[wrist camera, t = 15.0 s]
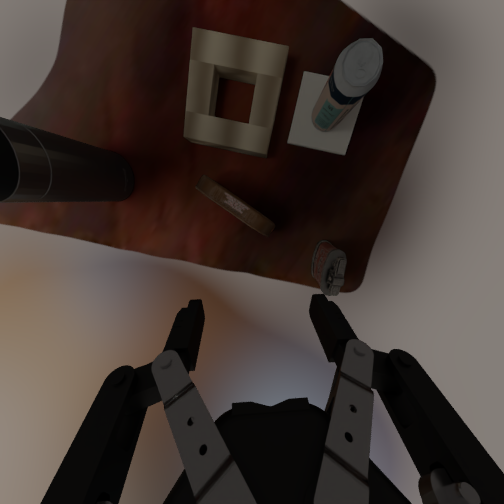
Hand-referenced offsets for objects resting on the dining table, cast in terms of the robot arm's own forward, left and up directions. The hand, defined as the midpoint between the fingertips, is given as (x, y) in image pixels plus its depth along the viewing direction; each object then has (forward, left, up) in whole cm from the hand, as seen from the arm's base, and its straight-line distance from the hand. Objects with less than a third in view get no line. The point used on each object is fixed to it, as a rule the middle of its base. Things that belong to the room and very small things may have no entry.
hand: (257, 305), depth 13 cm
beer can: (+5, +22, -24) cm, 33 cm away
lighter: (+12, -2, -25) cm, 27 cm away
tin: (-6, +5, -25) cm, 26 cm away
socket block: (-10, +21, -24) cm, 34 cm away
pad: (+5, +22, -24) cm, 33 cm away
